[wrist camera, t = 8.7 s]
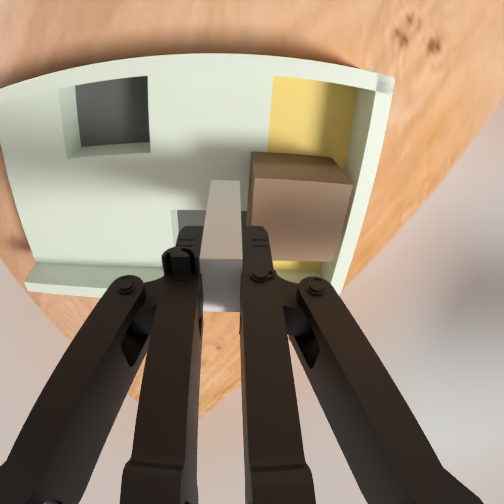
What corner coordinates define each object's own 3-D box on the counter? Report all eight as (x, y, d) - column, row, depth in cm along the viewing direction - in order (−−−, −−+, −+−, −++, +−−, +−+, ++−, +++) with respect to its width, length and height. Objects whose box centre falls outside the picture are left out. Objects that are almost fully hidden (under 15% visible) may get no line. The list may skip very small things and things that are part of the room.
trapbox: (12, 83, 15) (-30, 100, 11) (360, 68, 17) (395, 77, 13) (50, 254, 24) (28, 291, 20) (323, 260, 26) (337, 302, 22)
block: (250, 151, 18) (254, 178, 15) (331, 157, 18) (352, 184, 15) (245, 222, 21) (248, 260, 18) (318, 225, 21) (333, 261, 18)
